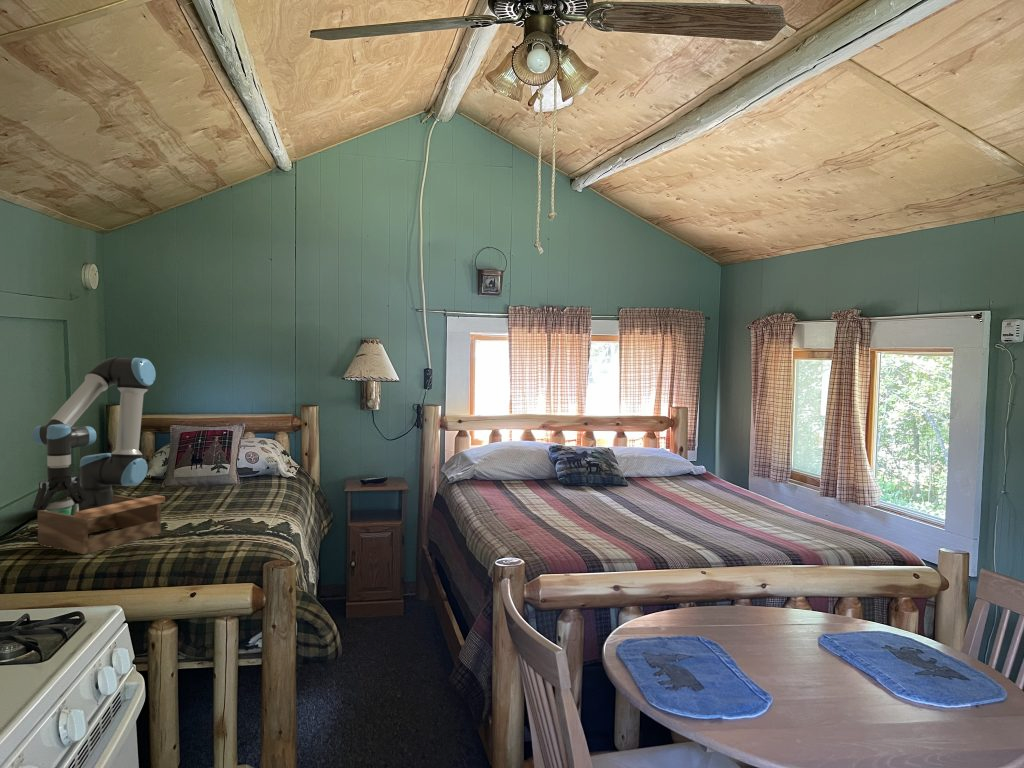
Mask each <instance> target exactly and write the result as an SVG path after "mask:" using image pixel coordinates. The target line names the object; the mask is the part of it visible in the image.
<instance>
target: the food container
mask: <svg viewBox="0 0 1024 768" xmlns="http://www.w3.org/2000/svg"><path fill="white" fill-rule="evenodd" d="M74 503H75V502H74V501H73V500H72V499H71V497H70V496H67V497H66V499H64V500H56V501H53V502H49V503H48V505H47V507H46V509H45V510H47V511H51V512H56V513H62V514H68V515H72V505H74Z"/></svg>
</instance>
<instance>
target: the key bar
mask: <svg viewBox="0 0 1024 768" xmlns="http://www.w3.org/2000/svg"><path fill="white" fill-rule="evenodd" d="M165 502H166V497H165V496H163V495H157V494H154V495H150V496H149V495H148V496H145V497H141V498H139V499H134V500H130V501H125V502H120V503H115V504H110V505H106V506H101V507H96V508H91V509H87V510H82V511H77V512H75V518H79V519H87V520H88V519H92V518H97V517H101V516H106V515H110V514H113V513H117V512H121V511H126V510H130V509H135V508H139V507H144V506H148V505H153V504H157V503H161V504H162V503H165Z"/></svg>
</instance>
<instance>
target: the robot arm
mask: <svg viewBox="0 0 1024 768" xmlns="http://www.w3.org/2000/svg"><path fill="white" fill-rule="evenodd" d="M156 374H157V373H156V368H155V367H154V365H153V363H152V362H151V361H150V360H149V359H147V358H142V357H109V358H108V359H104V360H102V361H101V362H100V363H98V364H96V365H95V366H94V367H92V369H90V370H89V371H88V372H87V374H86V375H85V376H84V381H83V382H82V384H80V385H79V387H78V388H77V389H76V390H75V391H73V393H72V395H70V397H69V398H68V399H67V400H66V401H65V402H64V404H63V405H62V406H61V407H60V408H59V409H58V411H57V412H56V413H55V414H54V415H53V416H52V417H51V418H50V419H49V420H48V422H47V423H46V424H45V425H44V424H42V425H37V426H35V427H34V429H32V432H31V439H32V441H33V442H34V443H35V444H37V445H41V446H46V449H47V450H46V455H47V456H46V458H47V459H46V460H47V461H46V462H47V466H48V467H47V471H46V472H47V478H48V479H47V481H46V482H42V481H40V482H38V491H37V493H36V496H35V499H34V502H33V505H32V510H37V512H38V511H39V510H45V509H46V507H47V505H48V503H51V502H50V501H51V500H52V499H53V497H54V495H55V494H57V493H58V492H61V491H62V492H63V491H64V492H66V493H67V495H68V497H71V499H72V500H73V501H74V505H72V513H71V515H73V516H75V512H77V511H82V510H87V509H91V508H96V507H101V506H106V505H110V504H113V496H115V494H114V491H113V486H124V487H135V486H138V485H140V484H142V482H143V481H144V480H145V478H146V476H147V473H148V470H149V469H148V463H147V461H146V459H144V458H143V453H142V452H141V451H140V450H139V449H140V440H141V427H142V416H143V406H144V405H143V404H144V396H145V393H146V392H148V391H149V387H150V386H152V385H153V384H154V382H155V380H156V376H157V375H156ZM115 385H116V386H117V390H118V391H119V392H120V400H119V409H118V411H119V412H118V421H117V422H118V423H117V432H116V441H115V442H116V443H115V450H113V451H112V452H111V453H110V452H106V453H105V452H104V453H97V454H96V453H95V454H90V455H85V456H82V457H81V459H79V477H78V476H73V477H71V476H72V466H71V465H72V449H74V448H81V447H87V446H89V445H92V444H95V442H96V440H97V432H96V429H94V427H92V426H89V425H86V426H85V425H84V426H83V425H82V426H74V425H75V423H77V421H78V420H79V418H80V417H81V416H82V415H83V414H84V413H85V411H86V410H87V409H88V408H89V407H90V406H91V405H92V403H93V402H94V401H95V400H96V399H97V397H99V396H100V394H101V393H102V392H105V391H107V390H108V389H109V388H110V387H111V386H115ZM71 484H72V486H73V487H72V486H71ZM45 511H47V510H45Z"/></svg>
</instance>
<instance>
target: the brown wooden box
mask: <svg viewBox="0 0 1024 768" xmlns="http://www.w3.org/2000/svg"><path fill="white" fill-rule="evenodd" d="M134 499H139V498H137V497H133V496H125V495H117V494H114V496H113V504H115V503H120V502H125V501H130V500H134ZM161 504H162V503H157V504H153V505H148V506H144V507H139V508H135V509H130V510H126V511H121V512H117V513H112V514H108V515H103V516H99V517H94V518H90V519H79V518H75V516H73V515H72V514H71V515H68V514H62V513H56V512H51V511H45V510H39V511H38V510H37V545H38V544H42V545H46V546H51V547H55V548H54V549H56V548H60V549H63V550H62V551H65V550H67V551H66V552H70V551H71V553H75V552H76V553H75V554H81V555H86V554H91V553H93V552H94V553H95V552H97V551H98V552H99V551H100V550H102V551H103V550H104V549H108V548H112V547H113V548H114V547H116V546H119V545H123V544H128V543H130V542H134V541H135V542H136V541H139V540H142V539H146V538H149V537H153V536H158V535H161V534H162V522H161V521H162V516H161V515H162V511H161V508H162V507H161ZM118 527H119V528H120V529H119V528H118ZM113 528H114V529H115V528H118V529H115V530H112V531H108V532H107V531H106V532H104V533H100V534H99V533H98V532H101V530H102V531H105V530H110V529H113ZM93 532H94V533H98V534H95V535H92V536H89V534H93ZM46 546H45V547H46ZM51 547H50V548H51ZM60 549H59V550H60Z"/></svg>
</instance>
